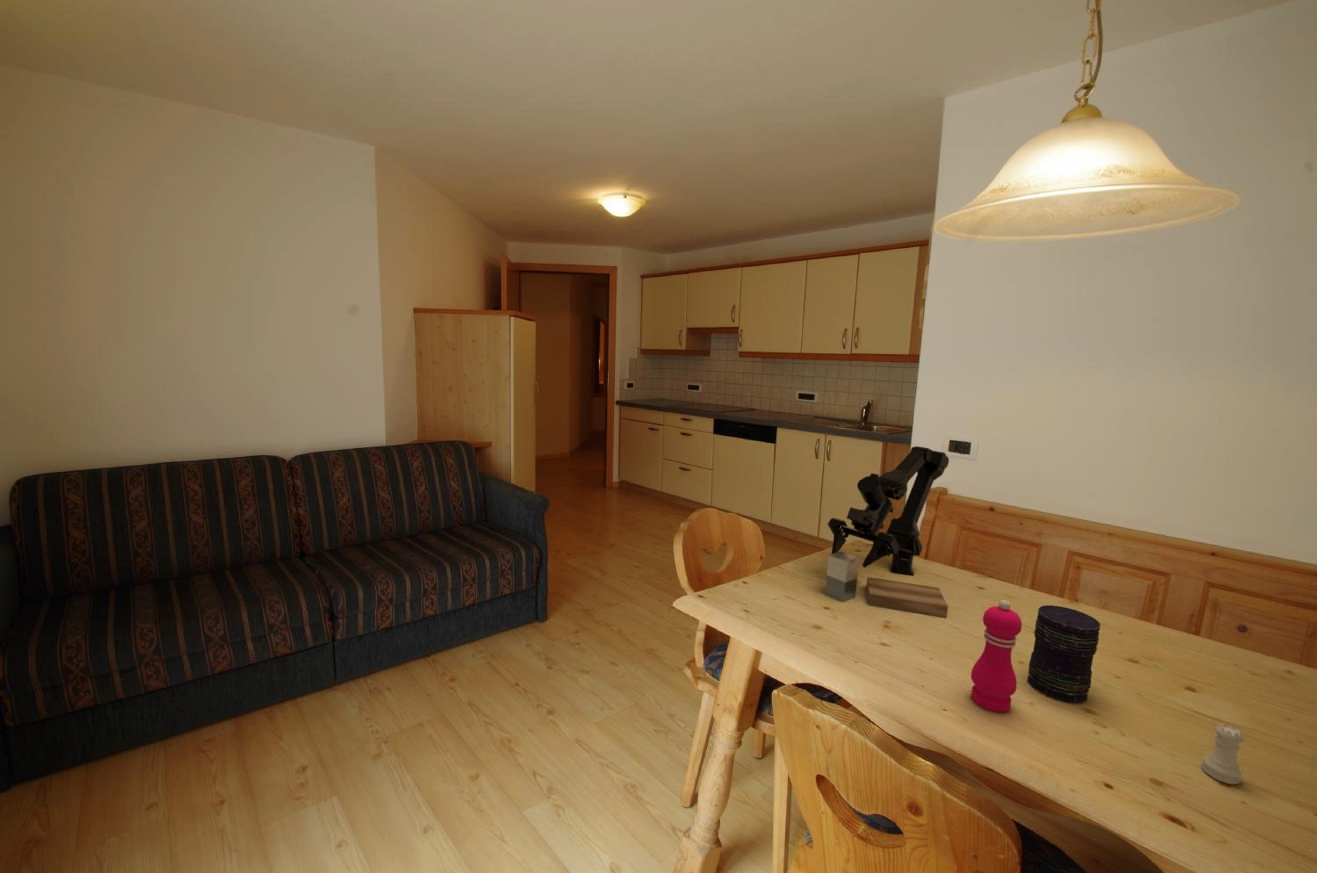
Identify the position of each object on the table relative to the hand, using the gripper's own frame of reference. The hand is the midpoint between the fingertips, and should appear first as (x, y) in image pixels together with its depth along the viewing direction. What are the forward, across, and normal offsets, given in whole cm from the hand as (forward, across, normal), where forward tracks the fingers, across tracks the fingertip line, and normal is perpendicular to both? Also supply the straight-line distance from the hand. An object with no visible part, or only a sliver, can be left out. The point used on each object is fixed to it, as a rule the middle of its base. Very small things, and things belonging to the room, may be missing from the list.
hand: (847, 560), depth 146 cm
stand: (0, +12, +13) cm, 18 cm away
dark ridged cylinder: (+9, +49, +5) cm, 50 cm away
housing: (+8, 0, +5) cm, 10 cm away
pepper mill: (+20, +43, -6) cm, 48 cm away
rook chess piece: (+13, +72, +1) cm, 73 cm away
